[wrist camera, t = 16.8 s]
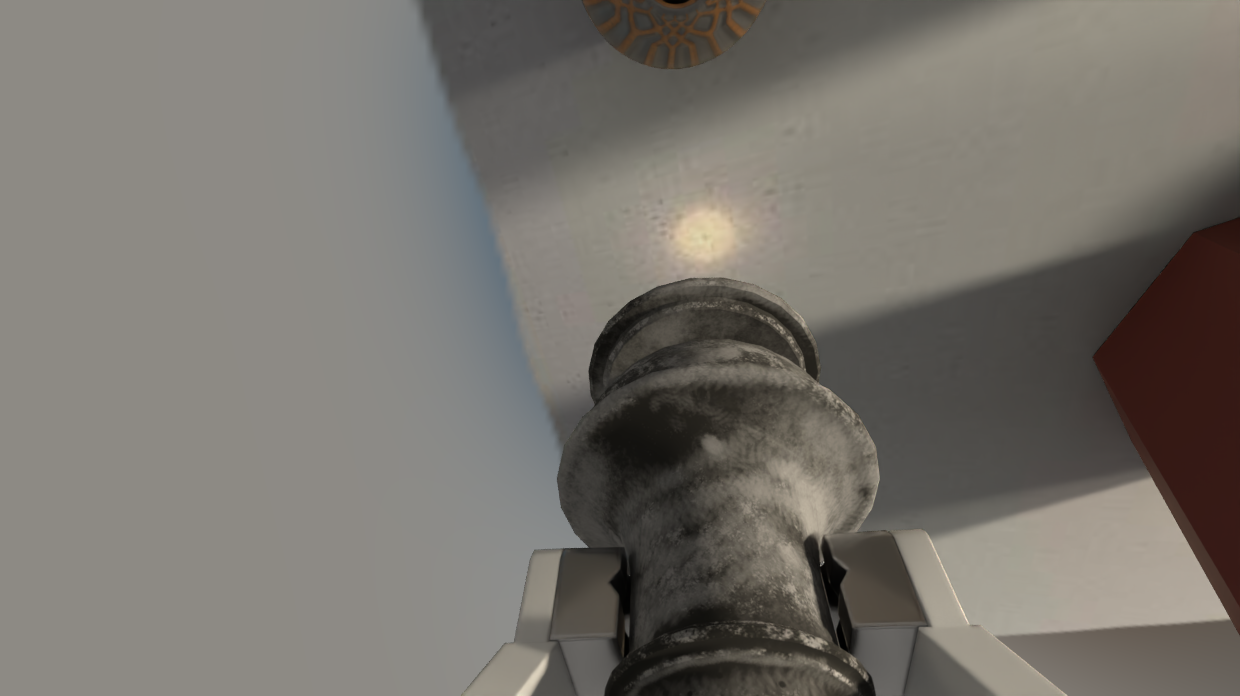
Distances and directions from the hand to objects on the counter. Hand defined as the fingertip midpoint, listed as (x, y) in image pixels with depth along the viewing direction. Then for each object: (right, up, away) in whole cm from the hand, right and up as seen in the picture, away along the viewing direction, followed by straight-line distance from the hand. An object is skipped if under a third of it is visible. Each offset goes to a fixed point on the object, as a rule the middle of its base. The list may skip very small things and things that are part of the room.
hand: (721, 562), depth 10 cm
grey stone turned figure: (0, +3, +4) cm, 5 cm away
